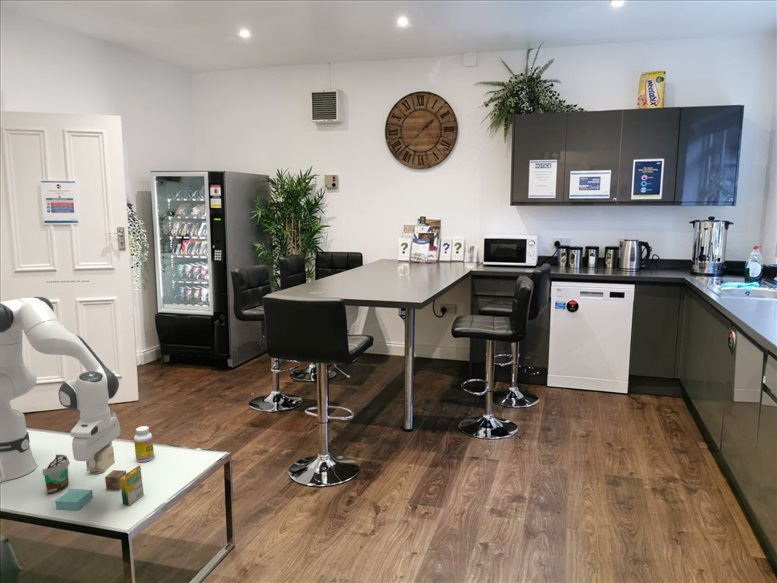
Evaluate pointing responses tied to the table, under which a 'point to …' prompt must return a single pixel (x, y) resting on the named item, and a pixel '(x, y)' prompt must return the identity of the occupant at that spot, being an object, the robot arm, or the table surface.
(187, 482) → the table surface
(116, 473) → the walnut block
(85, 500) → the base brick
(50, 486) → the food container
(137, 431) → the supplement bottle
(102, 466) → the beech block
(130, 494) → the crayon box
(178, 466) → the table surface
